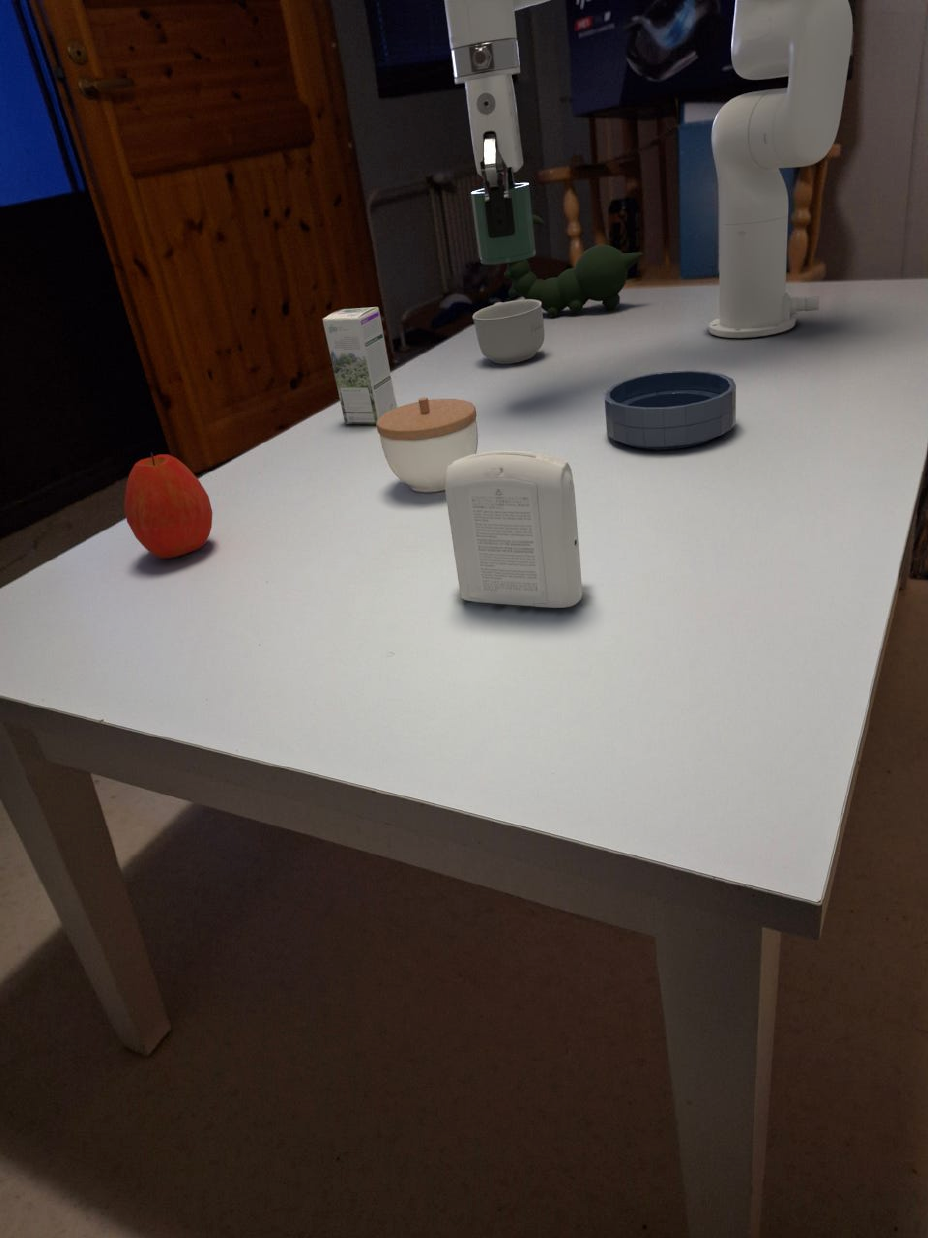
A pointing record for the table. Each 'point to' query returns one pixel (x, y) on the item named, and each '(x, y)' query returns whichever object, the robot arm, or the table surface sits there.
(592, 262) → the toy figurine
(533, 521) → the photo printer
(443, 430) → the trinket box
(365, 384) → the syrup box
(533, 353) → the teacup
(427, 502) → the table surface
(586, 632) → the table surface
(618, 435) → the blue bowl
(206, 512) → the apple
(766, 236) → the robot arm
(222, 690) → the table surface
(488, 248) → the green cup
